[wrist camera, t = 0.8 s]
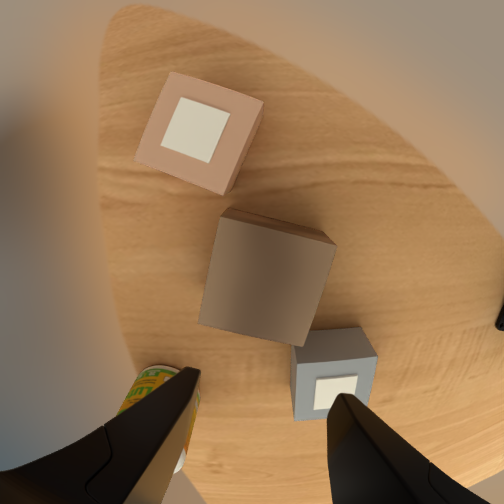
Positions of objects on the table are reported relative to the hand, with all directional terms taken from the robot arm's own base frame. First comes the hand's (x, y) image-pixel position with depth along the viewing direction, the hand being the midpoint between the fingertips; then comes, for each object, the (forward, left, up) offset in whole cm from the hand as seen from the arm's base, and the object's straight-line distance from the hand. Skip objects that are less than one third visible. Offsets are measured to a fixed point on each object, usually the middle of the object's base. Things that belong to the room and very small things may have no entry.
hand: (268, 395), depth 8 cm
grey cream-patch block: (-6, +6, -12) cm, 15 cm away
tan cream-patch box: (+5, -7, -12) cm, 15 cm away
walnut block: (0, 0, -12) cm, 12 cm away
